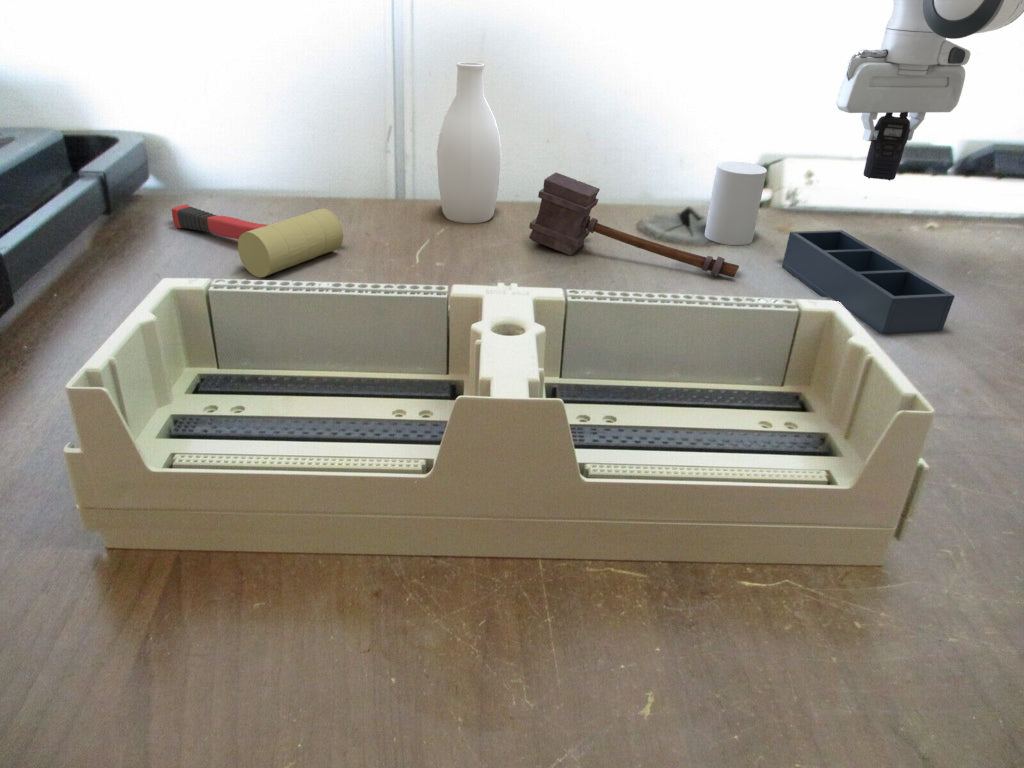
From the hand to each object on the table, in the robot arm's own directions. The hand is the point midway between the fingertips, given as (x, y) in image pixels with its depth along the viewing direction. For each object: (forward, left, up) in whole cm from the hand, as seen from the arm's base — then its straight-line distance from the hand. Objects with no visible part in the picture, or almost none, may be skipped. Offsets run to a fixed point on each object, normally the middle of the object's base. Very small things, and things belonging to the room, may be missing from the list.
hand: (886, 140), depth 127 cm
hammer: (+45, +7, -17) cm, 49 cm away
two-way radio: (0, 0, -6) cm, 6 cm away
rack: (+17, +25, -17) cm, 35 cm away
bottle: (+68, -17, -17) cm, 72 cm away
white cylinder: (+24, -2, -17) cm, 30 cm away
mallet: (+105, -5, -17) cm, 107 cm away
